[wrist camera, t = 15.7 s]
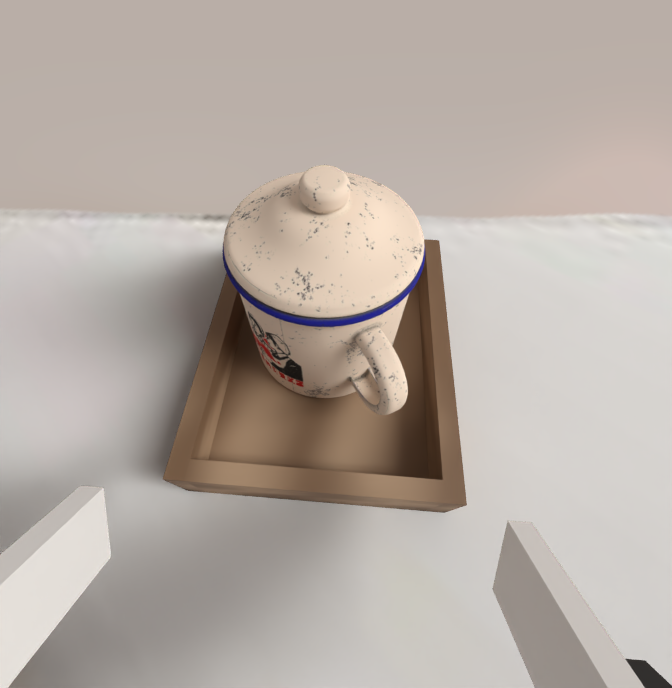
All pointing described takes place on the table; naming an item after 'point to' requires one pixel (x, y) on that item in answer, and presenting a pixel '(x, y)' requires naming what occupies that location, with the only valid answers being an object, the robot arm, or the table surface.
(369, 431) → the walnut tray
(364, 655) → the table surface
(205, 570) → the table surface
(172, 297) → the table surface
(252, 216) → the teacup with lid
